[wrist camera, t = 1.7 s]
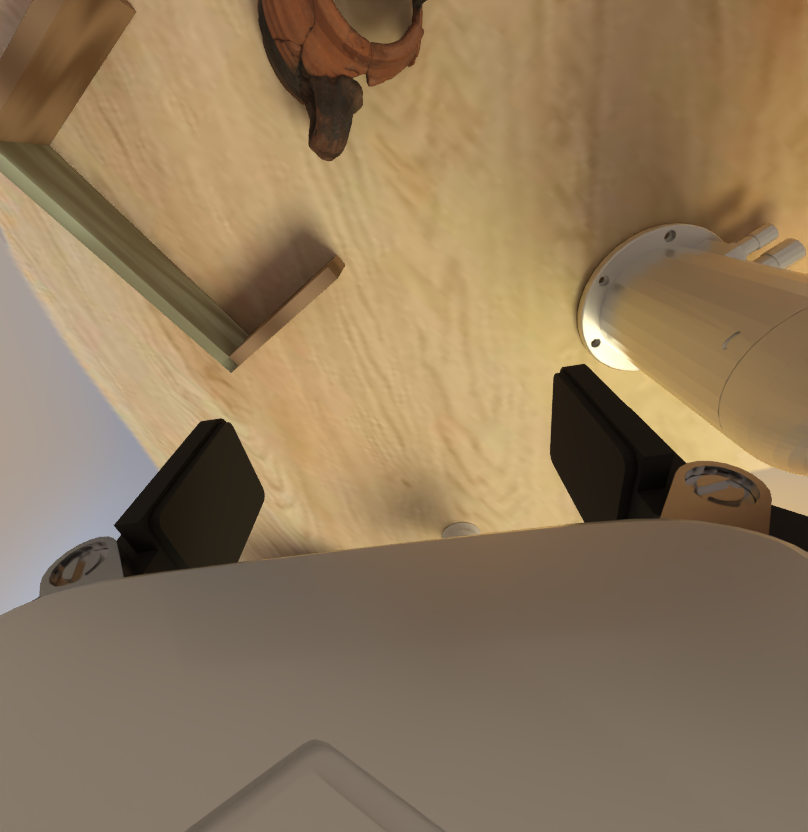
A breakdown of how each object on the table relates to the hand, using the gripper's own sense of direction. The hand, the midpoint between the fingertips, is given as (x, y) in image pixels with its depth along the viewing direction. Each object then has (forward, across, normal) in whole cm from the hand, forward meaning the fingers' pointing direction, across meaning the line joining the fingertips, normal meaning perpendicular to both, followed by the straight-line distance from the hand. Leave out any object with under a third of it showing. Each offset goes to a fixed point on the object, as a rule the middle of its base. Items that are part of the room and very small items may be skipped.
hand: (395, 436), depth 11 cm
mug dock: (+24, +14, -7) cm, 29 cm away
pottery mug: (+25, +2, -14) cm, 28 cm away
